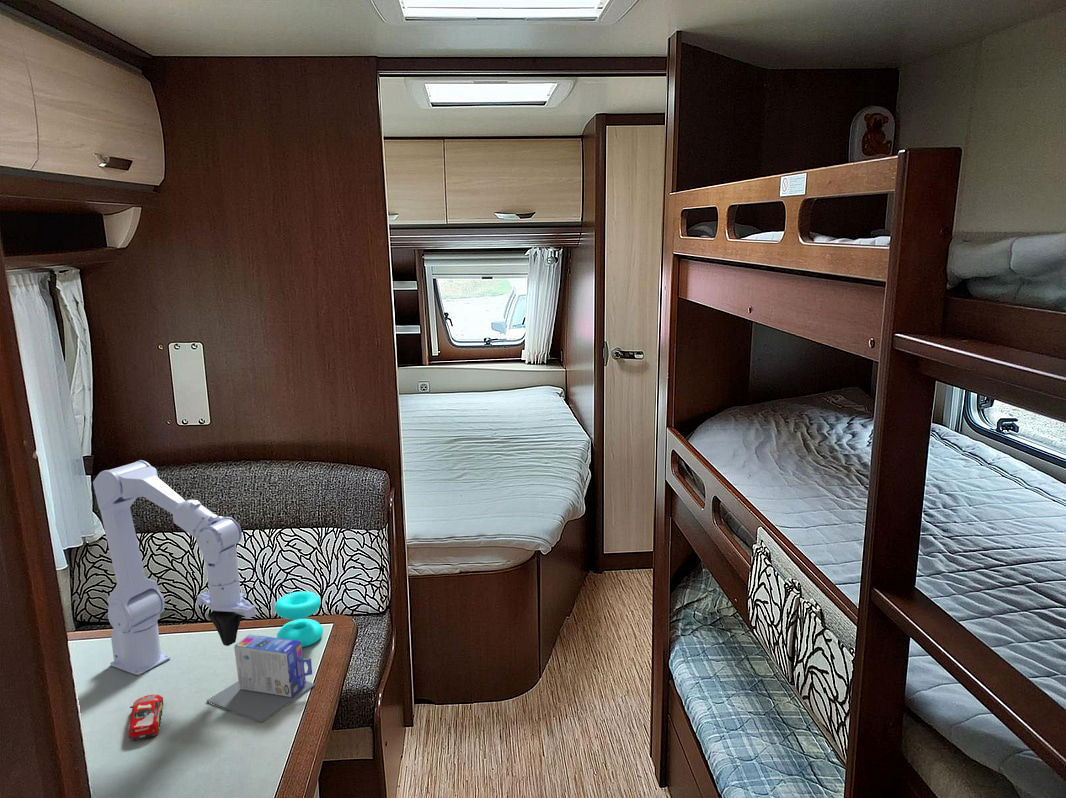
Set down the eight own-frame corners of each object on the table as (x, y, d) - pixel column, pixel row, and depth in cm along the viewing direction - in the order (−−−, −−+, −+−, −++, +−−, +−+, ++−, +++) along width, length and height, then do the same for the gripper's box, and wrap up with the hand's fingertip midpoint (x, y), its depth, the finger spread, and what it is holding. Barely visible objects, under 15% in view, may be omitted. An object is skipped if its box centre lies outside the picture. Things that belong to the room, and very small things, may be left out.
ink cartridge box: (256, 674, 155) (317, 685, 151) (238, 690, 150) (301, 701, 146) (250, 631, 153) (312, 641, 149) (232, 646, 148) (296, 656, 144)
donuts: (311, 608, 164) (266, 608, 165) (314, 651, 166) (270, 650, 167) (326, 589, 174) (284, 588, 175) (329, 629, 176) (287, 628, 176)
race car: (135, 707, 146) (133, 688, 145) (166, 701, 148) (164, 682, 147) (125, 746, 134) (122, 726, 133) (158, 739, 136) (156, 719, 135)
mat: (206, 702, 147) (206, 700, 147) (262, 668, 159) (262, 666, 159) (261, 722, 140) (261, 720, 140) (315, 685, 152) (315, 683, 152)
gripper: (265, 579, 149) (270, 642, 152) (215, 566, 156) (221, 627, 158) (236, 592, 143) (242, 658, 146) (185, 579, 150) (192, 642, 152)
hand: (229, 643), depth 152 cm, fingers closed
